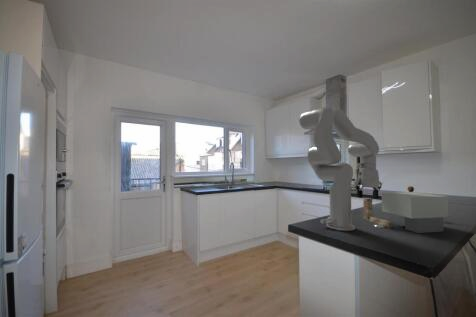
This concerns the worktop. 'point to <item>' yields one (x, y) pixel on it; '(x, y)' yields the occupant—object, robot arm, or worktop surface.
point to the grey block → (417, 210)
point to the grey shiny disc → (379, 226)
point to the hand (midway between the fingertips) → (367, 197)
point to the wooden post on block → (369, 216)
